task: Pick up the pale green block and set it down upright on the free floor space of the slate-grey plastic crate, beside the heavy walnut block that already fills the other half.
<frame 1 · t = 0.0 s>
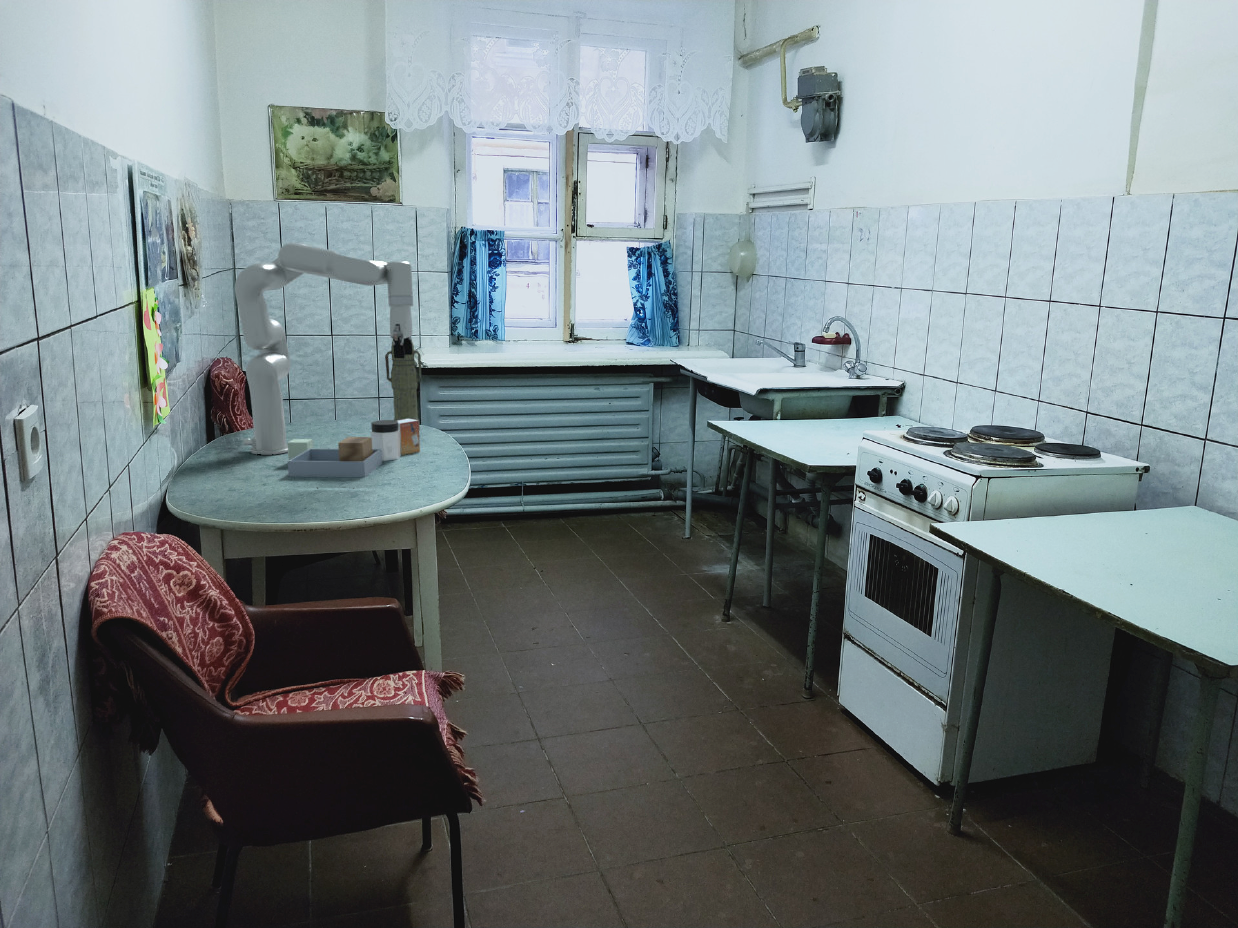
hand: (403, 356, 287), 31 cm above the table, tool pointing down, fingers open, 9 cm apart
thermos: (406, 437, 319), on the table
crate: (337, 472, 268), on the table
small box: (405, 453, 294), on the table
pale green block: (301, 463, 280), on the table
jar: (386, 460, 284), on the table
walnut block: (357, 469, 267), point 1 cm above the table, touching crate
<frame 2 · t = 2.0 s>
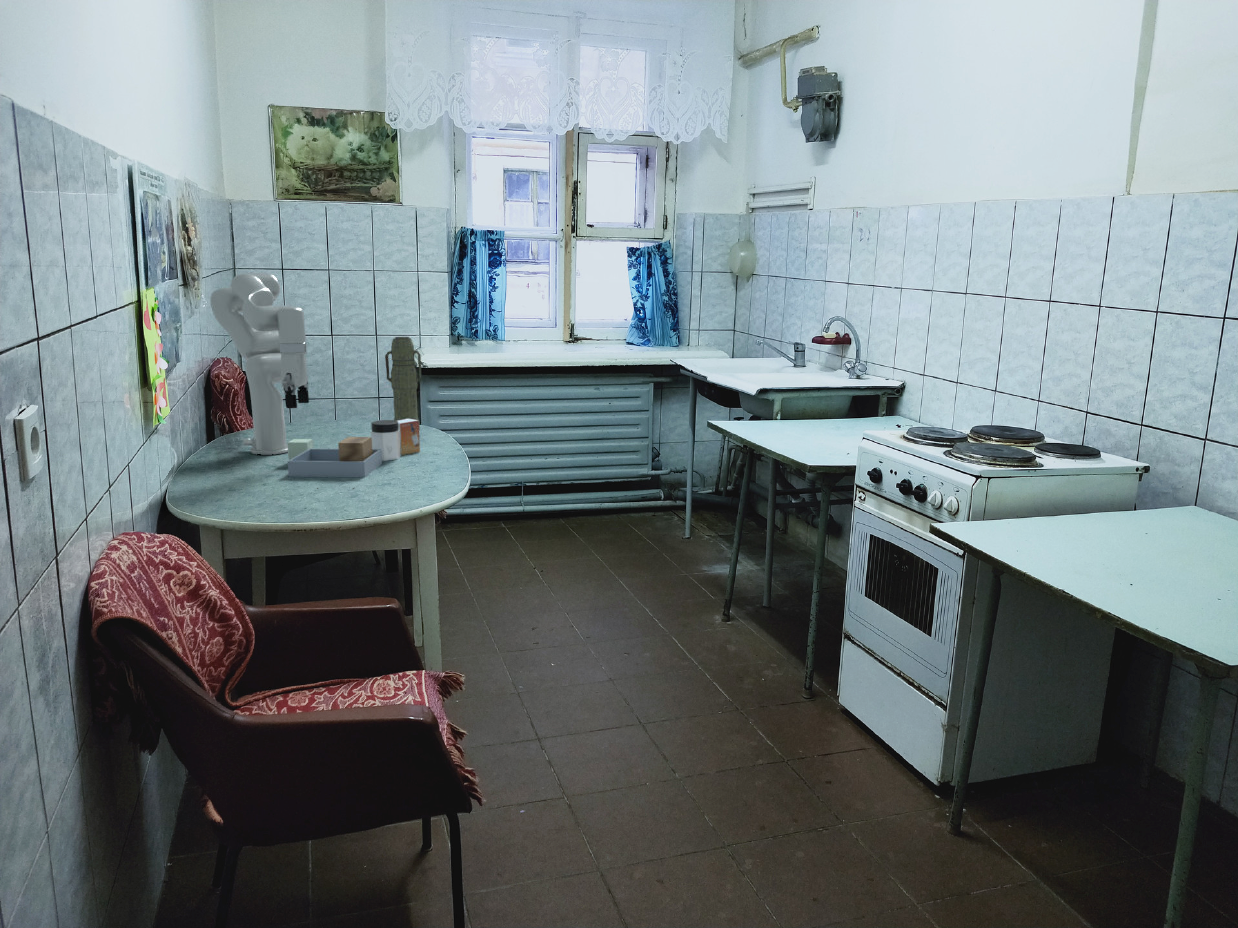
hand: (297, 405, 276), 18 cm above the table, tool pointing down, fingers open, 9 cm apart
nothing on the table moved.
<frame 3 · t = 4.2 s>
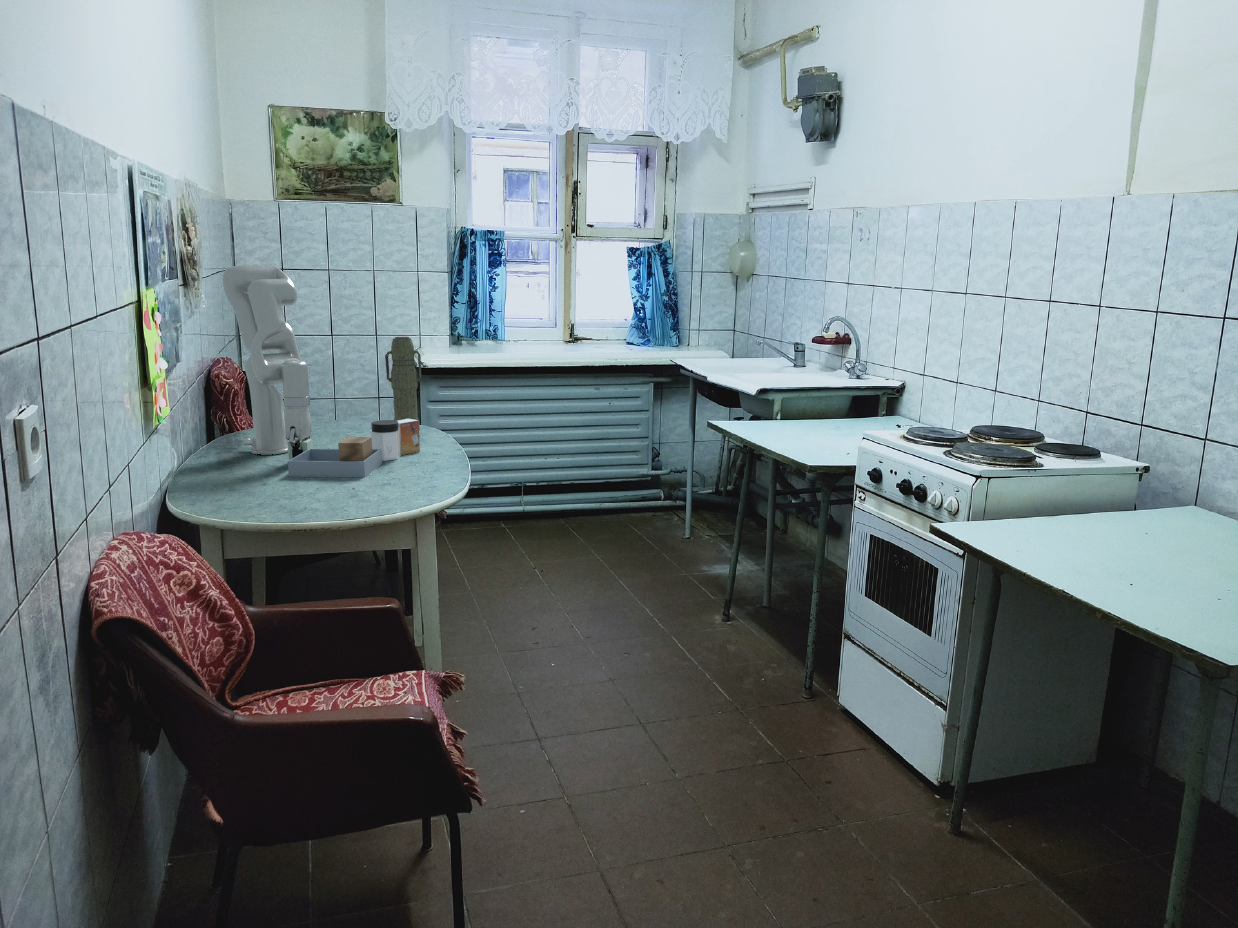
hand: (301, 459, 279), 1 cm above the table, tool pointing down, fingers closed on pale green block, 5 cm apart
pale green block: (302, 462, 280), on the table, touching gripper
everything else where it was.
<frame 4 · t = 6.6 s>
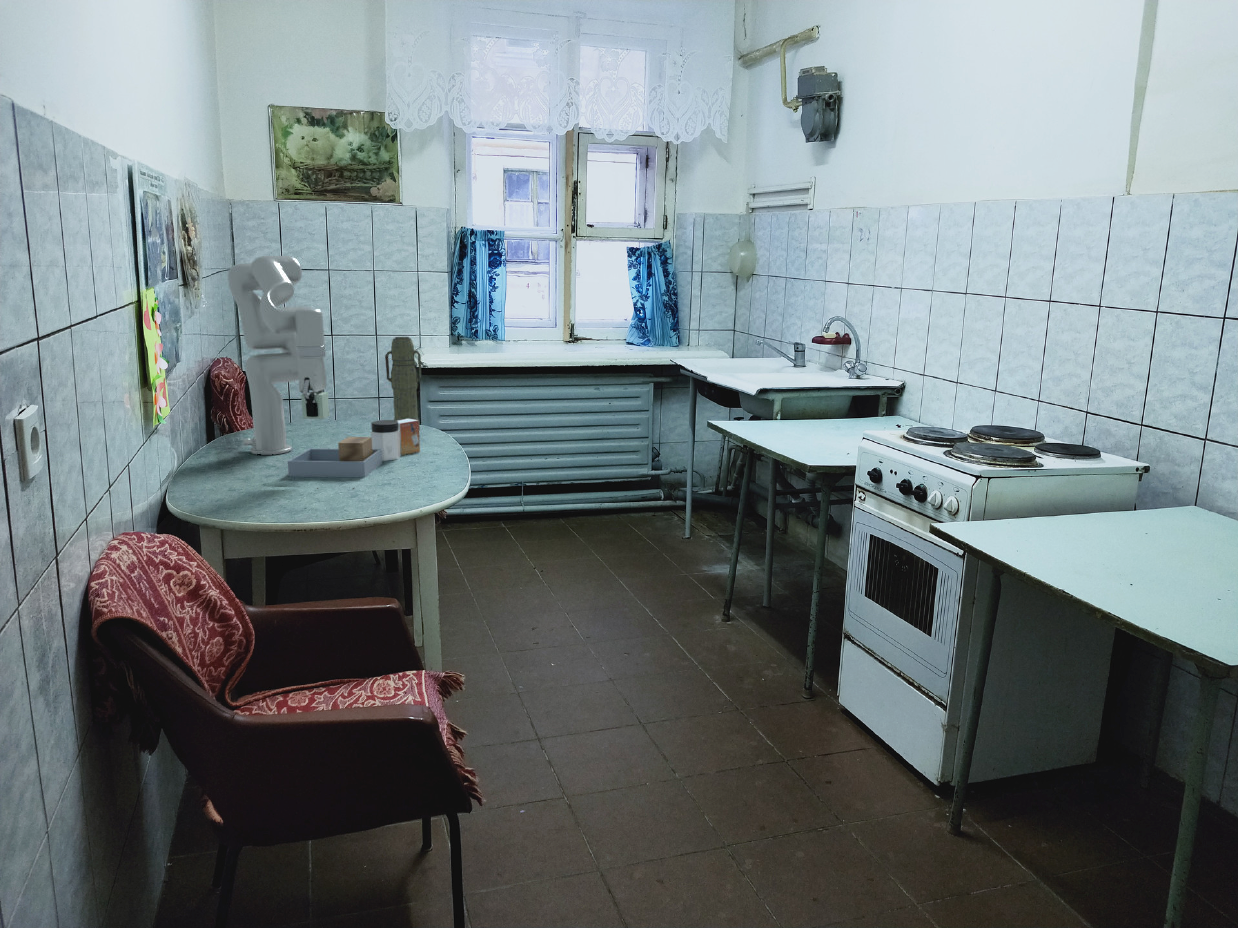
hand: (316, 414, 264), 17 cm above the table, tool pointing down, fingers closed on pale green block, 5 cm apart
pale green block: (316, 417, 264), point 16 cm above the table, touching gripper
everything else where it was.
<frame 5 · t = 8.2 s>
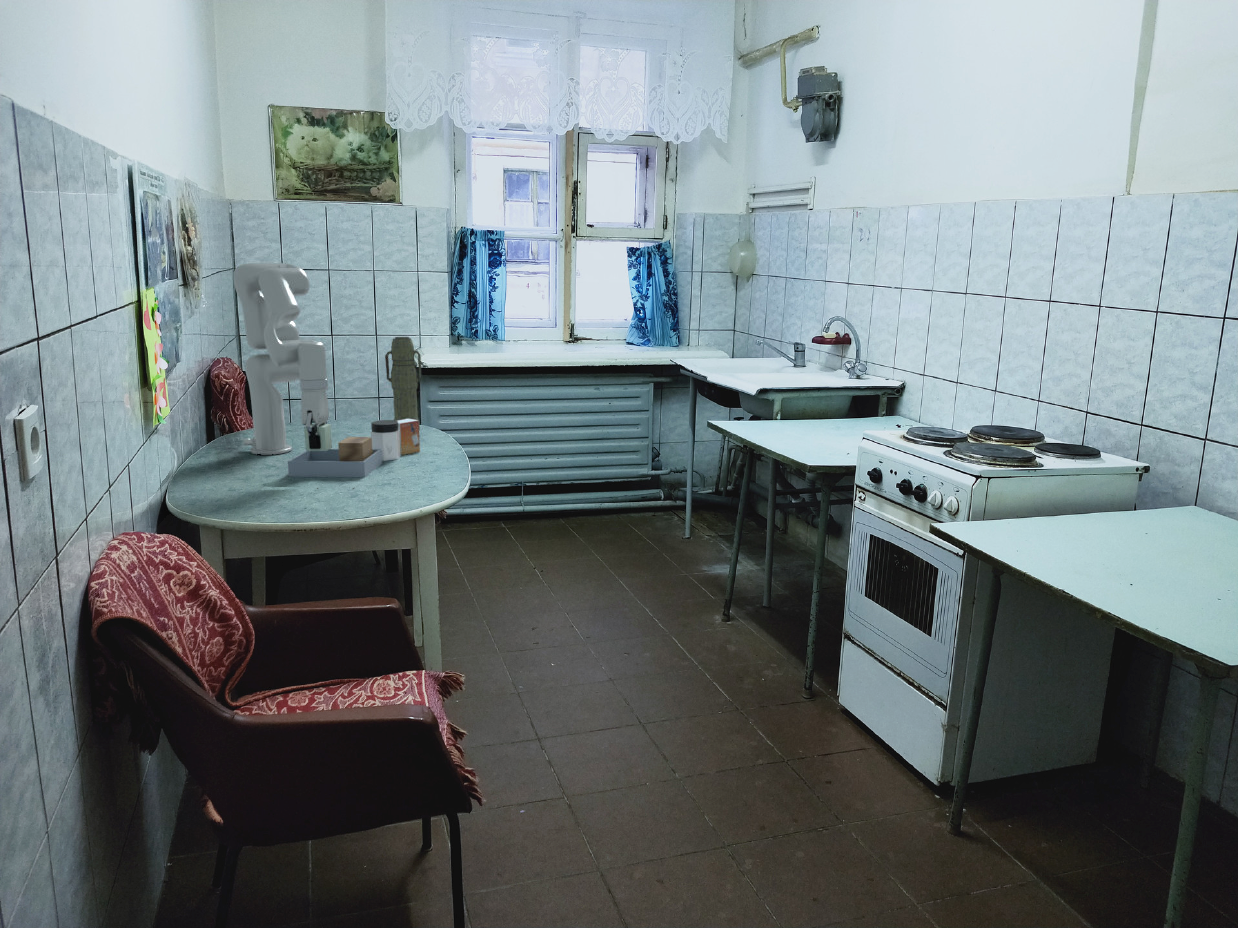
hand: (318, 446, 266), 8 cm above the table, tool pointing down, fingers closed on pale green block, 5 cm apart
pale green block: (319, 449, 266), point 7 cm above the table, touching gripper
everything else where it was.
when the fingers open (4 cm above the table, at t = 9.4 s): pale green block drops 2 cm, resting on crate.
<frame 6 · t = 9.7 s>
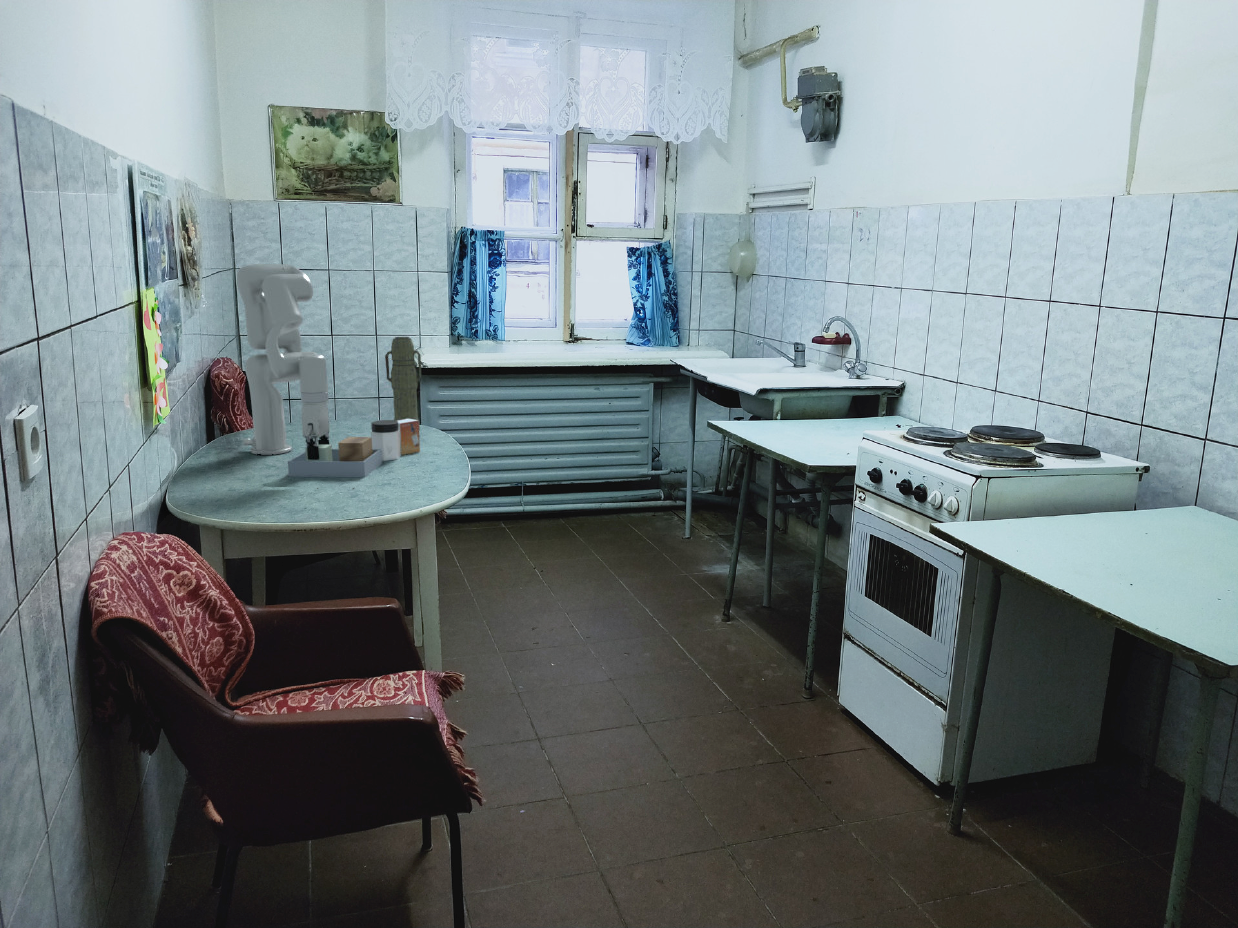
hand: (319, 456, 267), 5 cm above the table, tool pointing down, fingers open, 8 cm apart
pale green block: (320, 469, 268), point 1 cm above the table, touching crate
everything else where it was.
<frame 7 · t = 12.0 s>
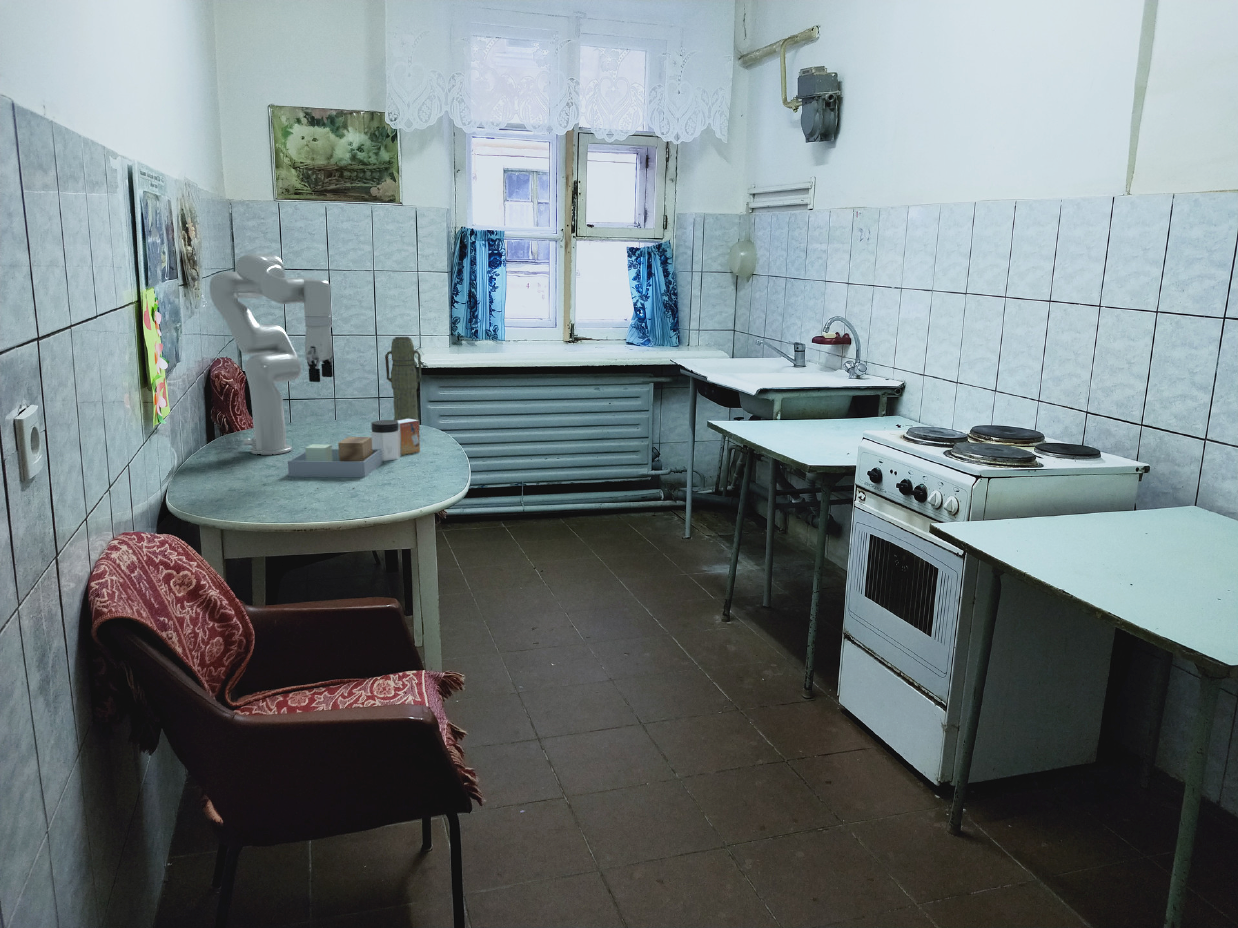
hand: (321, 379, 273), 26 cm above the table, tool pointing down, fingers open, 9 cm apart
nothing on the table moved.
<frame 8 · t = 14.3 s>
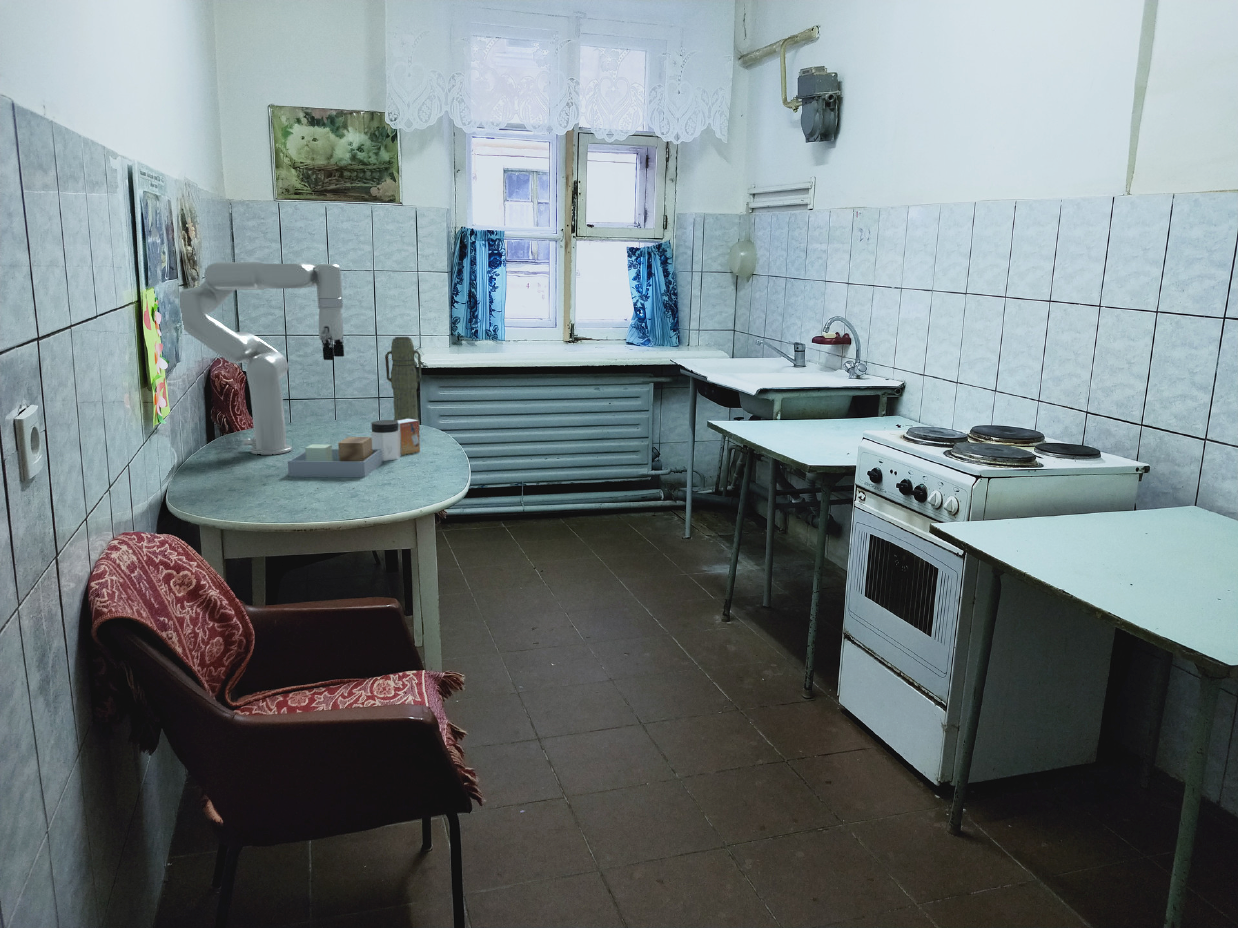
hand: (334, 358, 290), 30 cm above the table, tool pointing down, fingers open, 9 cm apart
nothing on the table moved.
at the end: pale green block inside the target area on the crate (1.0 cm from its centre), point 0.8 cm above the crate's base; pale green block tilted 0°; walnut block moved 0.0 cm from its start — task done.
